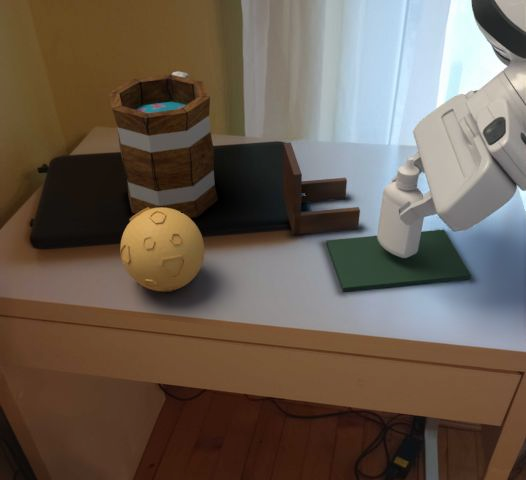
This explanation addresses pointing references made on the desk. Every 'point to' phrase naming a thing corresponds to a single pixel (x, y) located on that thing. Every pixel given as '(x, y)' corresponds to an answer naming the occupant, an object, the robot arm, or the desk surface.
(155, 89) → the mug
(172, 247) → the stress ball
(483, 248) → the desk surface
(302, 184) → the holder
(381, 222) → the eye dropper bottle
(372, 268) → the mat
